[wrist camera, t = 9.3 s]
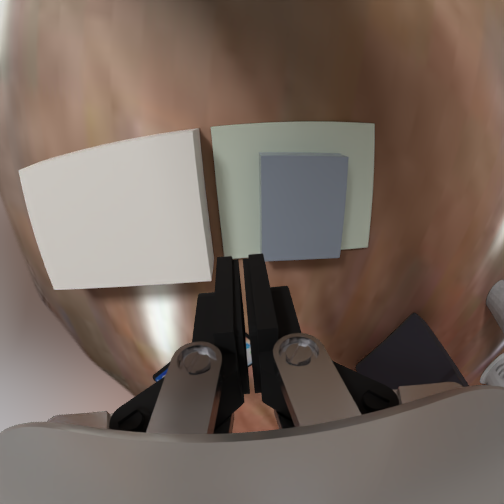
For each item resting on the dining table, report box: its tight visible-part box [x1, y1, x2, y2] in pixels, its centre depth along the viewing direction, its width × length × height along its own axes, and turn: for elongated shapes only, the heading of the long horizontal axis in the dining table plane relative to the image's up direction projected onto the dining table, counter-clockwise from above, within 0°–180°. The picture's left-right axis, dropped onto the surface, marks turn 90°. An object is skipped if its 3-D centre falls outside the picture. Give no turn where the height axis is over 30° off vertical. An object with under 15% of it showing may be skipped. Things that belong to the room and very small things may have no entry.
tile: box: [259, 152, 349, 261], centre depth 25 cm, size 9×7×2 cm
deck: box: [19, 128, 214, 290], centre depth 23 cm, size 12×16×4 cm
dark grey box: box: [356, 313, 469, 390], centre depth 29 cm, size 11×4×15 cm, turn 143°
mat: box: [211, 121, 375, 259], centre depth 25 cm, size 12×14×1 cm
